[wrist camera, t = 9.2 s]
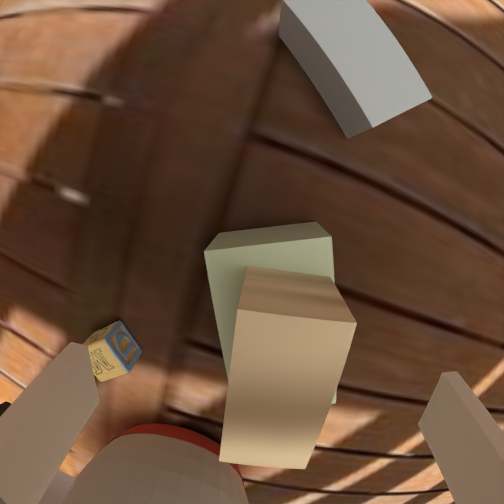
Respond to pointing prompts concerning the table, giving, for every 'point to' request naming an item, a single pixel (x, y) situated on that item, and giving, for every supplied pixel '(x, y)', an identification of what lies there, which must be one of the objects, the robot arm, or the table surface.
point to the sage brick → (261, 266)
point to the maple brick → (283, 367)
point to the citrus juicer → (158, 470)
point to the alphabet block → (112, 351)
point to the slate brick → (351, 61)
